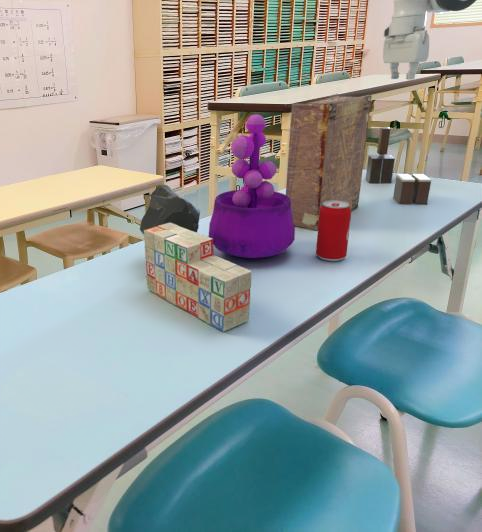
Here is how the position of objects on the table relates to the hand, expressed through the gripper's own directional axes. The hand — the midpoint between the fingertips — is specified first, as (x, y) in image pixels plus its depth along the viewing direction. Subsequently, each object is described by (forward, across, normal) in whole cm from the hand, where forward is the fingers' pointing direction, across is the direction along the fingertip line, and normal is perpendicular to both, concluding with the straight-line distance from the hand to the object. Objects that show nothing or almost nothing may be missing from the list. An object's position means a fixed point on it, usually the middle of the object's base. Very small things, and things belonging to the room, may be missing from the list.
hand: (402, 79), depth 154 cm
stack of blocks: (+33, -78, +72) cm, 111 cm away
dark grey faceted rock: (+32, -60, +75) cm, 101 cm away
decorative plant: (+32, -53, +56) cm, 84 cm away
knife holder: (+32, +6, +2) cm, 32 cm away
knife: (+32, +6, +2) cm, 32 cm away
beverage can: (+33, -58, +40) cm, 78 cm away
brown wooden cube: (+32, -18, +3) cm, 37 cm away
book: (+32, -29, +32) cm, 53 cm away
